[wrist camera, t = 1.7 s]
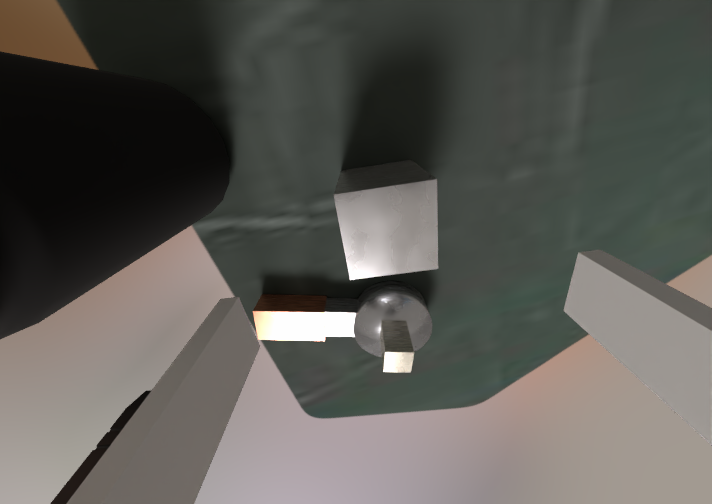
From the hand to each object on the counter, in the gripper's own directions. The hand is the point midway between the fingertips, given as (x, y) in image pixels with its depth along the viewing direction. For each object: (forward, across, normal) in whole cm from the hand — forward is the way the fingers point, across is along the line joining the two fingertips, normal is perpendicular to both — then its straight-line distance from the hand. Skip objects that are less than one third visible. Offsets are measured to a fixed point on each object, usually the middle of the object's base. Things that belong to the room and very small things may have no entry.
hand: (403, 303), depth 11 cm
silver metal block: (+15, 0, 0) cm, 15 cm away
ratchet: (+15, -5, -12) cm, 20 cm away
